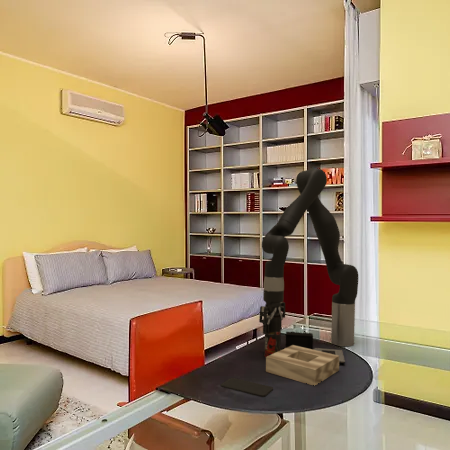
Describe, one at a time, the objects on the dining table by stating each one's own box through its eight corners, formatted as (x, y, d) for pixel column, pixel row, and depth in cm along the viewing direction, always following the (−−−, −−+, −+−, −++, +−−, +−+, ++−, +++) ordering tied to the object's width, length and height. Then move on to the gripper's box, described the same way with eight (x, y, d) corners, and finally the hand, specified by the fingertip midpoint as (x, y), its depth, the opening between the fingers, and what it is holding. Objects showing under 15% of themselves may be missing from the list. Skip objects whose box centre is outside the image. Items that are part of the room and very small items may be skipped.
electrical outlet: (344, 367, 147) (344, 360, 147) (314, 364, 149) (314, 357, 149) (341, 355, 160) (341, 349, 160) (313, 353, 162) (313, 347, 162)
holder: (292, 358, 153) (293, 345, 153) (338, 370, 142) (339, 355, 142) (265, 371, 139) (266, 356, 139) (314, 386, 128) (315, 369, 128)
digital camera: (312, 349, 165) (312, 332, 165) (312, 354, 159) (313, 336, 159) (285, 347, 166) (286, 330, 166) (285, 352, 161) (285, 334, 161)
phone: (231, 377, 133) (274, 387, 125) (231, 379, 133) (274, 389, 125) (219, 385, 126) (264, 396, 119) (219, 387, 126) (264, 398, 119)
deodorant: (283, 356, 156) (284, 316, 155) (273, 360, 151) (274, 319, 151) (270, 352, 160) (271, 313, 160) (261, 356, 155) (262, 316, 155)
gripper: (275, 285, 163) (273, 326, 163) (254, 289, 152) (253, 333, 152) (292, 288, 158) (290, 330, 159) (271, 292, 147) (270, 337, 147)
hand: (272, 331), depth 155 cm, fingers open, 8 cm apart
